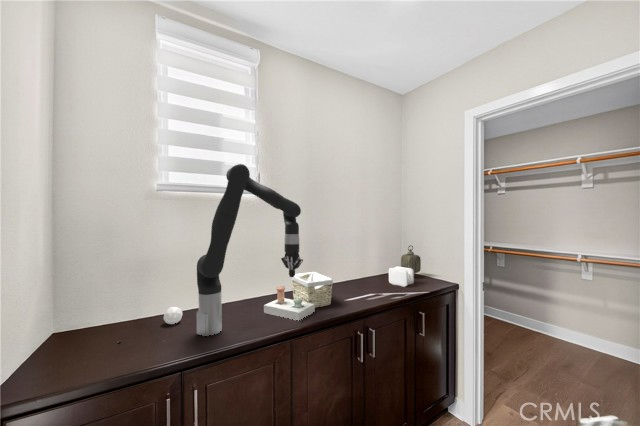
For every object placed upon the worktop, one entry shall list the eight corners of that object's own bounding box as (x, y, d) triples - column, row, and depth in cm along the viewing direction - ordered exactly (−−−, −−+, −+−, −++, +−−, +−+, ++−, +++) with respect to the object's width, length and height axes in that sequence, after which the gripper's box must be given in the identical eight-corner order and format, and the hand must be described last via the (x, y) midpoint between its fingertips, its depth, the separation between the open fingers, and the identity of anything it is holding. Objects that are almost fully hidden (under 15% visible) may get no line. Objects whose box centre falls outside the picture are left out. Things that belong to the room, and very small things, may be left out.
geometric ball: (169, 331, 123) (156, 320, 120) (174, 318, 130) (163, 308, 127) (183, 323, 123) (171, 311, 120) (188, 311, 130) (176, 300, 127)
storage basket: (290, 298, 161) (290, 273, 161) (314, 294, 168) (314, 270, 169) (307, 310, 140) (307, 282, 140) (334, 305, 147) (334, 278, 147)
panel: (298, 321, 126) (298, 312, 126) (264, 312, 137) (263, 305, 137) (314, 311, 138) (314, 304, 138) (281, 304, 149) (281, 297, 149)
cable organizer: (387, 283, 191) (387, 267, 191) (395, 281, 198) (395, 265, 199) (406, 287, 180) (406, 270, 180) (414, 285, 187) (414, 268, 187)
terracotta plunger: (281, 302, 137) (281, 289, 137) (274, 301, 140) (274, 288, 140) (287, 300, 141) (287, 287, 141) (280, 299, 144) (280, 285, 144)
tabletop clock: (411, 275, 217) (410, 244, 217) (421, 277, 210) (421, 245, 210) (401, 278, 208) (400, 245, 208) (411, 280, 201) (411, 246, 201)
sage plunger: (299, 315, 132) (299, 301, 132) (291, 313, 134) (291, 300, 134) (304, 312, 136) (304, 298, 136) (297, 311, 138) (296, 297, 138)
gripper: (277, 242, 137) (277, 276, 137) (297, 244, 130) (298, 280, 130) (286, 241, 143) (286, 274, 143) (306, 242, 136) (306, 276, 136)
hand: (292, 276), depth 136 cm, fingers closed
